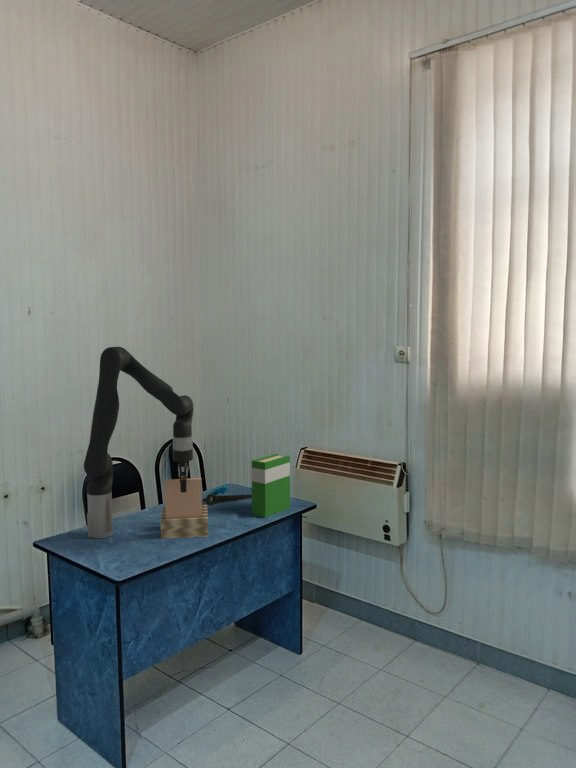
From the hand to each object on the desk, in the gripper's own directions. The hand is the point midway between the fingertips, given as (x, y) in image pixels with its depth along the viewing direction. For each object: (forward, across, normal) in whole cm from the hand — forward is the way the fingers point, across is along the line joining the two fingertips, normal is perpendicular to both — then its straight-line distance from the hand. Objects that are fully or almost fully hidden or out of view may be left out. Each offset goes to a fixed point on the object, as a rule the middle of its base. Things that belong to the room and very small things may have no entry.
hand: (183, 489), depth 247 cm
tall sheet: (+18, 0, 0) cm, 18 cm away
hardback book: (+20, -29, +37) cm, 51 cm away
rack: (+20, -6, 0) cm, 21 cm away
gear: (+20, -50, +14) cm, 56 cm away
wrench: (+20, -46, +22) cm, 55 cm away
